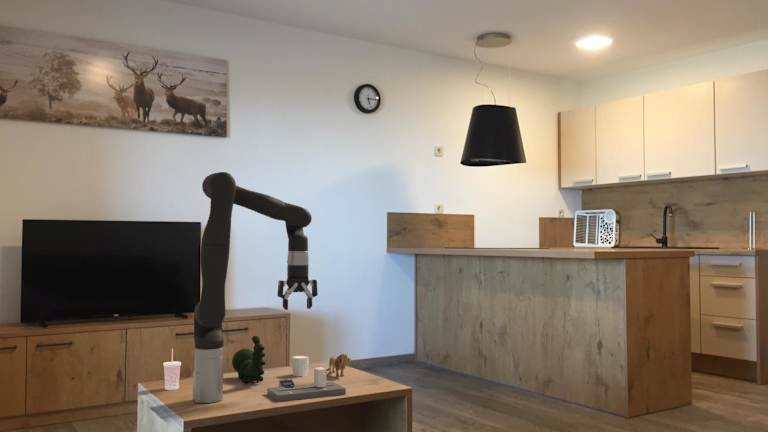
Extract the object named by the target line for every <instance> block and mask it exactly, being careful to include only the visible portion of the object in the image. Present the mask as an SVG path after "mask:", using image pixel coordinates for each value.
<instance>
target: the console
mask: <svg viewBox="0 0 768 432" xmlns="http://www.w3.org/2000/svg"><path fill="white" fill-rule="evenodd" d="M346 391H347V389H346V388H345V387H344V386H342V385H340V384H338V383H336V382H334V381H326V387H316V386H314V382H313V383H304V384H296V385H295V384H294V387H293V388H285V387H283V386H275V387H267V393H266V394H267V395H268V396H270V397H271V398H272V399H274V400H276V402H279V403H280V402H287V401H296V400H304V399H305V400H306V399H314V398H315V399H316V398H323V397H324V398H325V397H333V396H340V395H341V396H342V395H346V393H347V392H346Z"/></svg>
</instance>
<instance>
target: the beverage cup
mask: <svg viewBox="0 0 768 432" xmlns="http://www.w3.org/2000/svg"><path fill="white" fill-rule="evenodd" d="M162 364H163V365H162V366H163V371H164V389H165V390H167V391H168V390H169V391H173V390H178V389H180V376H181V375H180V374H181V373H180V372H181V366H182V362H181V361H177V360H176V361H175V360H174V348H171V361H166V362H165V361H164V362H163V363H162Z"/></svg>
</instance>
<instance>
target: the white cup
mask: <svg viewBox="0 0 768 432" xmlns="http://www.w3.org/2000/svg"><path fill="white" fill-rule="evenodd" d="M309 361H310V357H309V356H308V355H293V356H291V366H292V376H294V377H305V376H308V370H309Z"/></svg>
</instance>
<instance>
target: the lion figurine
mask: <svg viewBox="0 0 768 432" xmlns="http://www.w3.org/2000/svg"><path fill="white" fill-rule="evenodd" d="M351 362H352V359H351V358H350V357H349V356H348V354H347V353H341V354H339V355H338V356H337V357H336V356H331V357H330V358H329V362H328V366H329V368H327V369H326V372H328V375H332V373H335V374H336V375H335V378H340V376H341V377H344V376H345V374H344V370H345V369H346V367H347V366H348V364H349V365H350V364H351ZM339 370H340V374H339Z"/></svg>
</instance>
